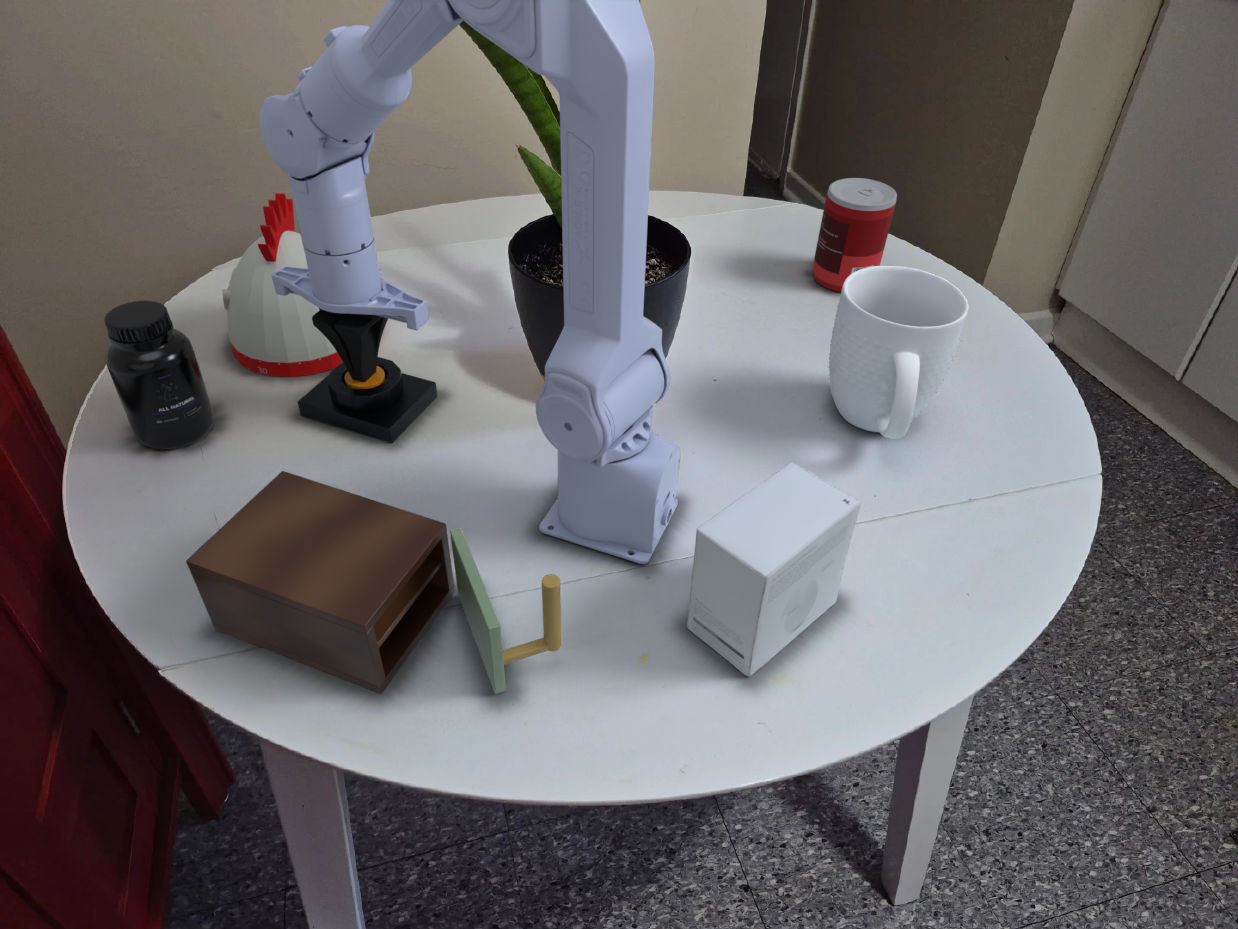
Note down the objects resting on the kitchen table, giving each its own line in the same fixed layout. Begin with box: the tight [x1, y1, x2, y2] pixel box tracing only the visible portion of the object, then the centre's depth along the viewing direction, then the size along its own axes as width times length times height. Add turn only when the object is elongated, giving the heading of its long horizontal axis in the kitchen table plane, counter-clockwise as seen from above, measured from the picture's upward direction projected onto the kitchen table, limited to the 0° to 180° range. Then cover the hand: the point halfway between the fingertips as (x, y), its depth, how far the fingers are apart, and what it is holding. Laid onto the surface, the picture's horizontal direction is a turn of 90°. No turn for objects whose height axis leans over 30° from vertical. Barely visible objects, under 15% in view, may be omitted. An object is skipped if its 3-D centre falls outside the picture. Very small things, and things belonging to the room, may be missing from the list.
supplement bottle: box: [103, 299, 215, 450], centre depth 76 cm, size 7×7×12 cm
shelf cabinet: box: [185, 470, 456, 695], centre depth 62 cm, size 14×10×7 cm
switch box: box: [296, 356, 438, 444], centre depth 82 cm, size 10×8×4 cm
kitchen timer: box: [221, 192, 343, 378], centre depth 86 cm, size 14×14×15 cm
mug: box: [828, 265, 970, 440], centre depth 79 cm, size 15×11×13 cm
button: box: [345, 366, 386, 389], centre depth 81 cm, size 4×4×2 cm
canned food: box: [812, 177, 898, 293], centre depth 102 cm, size 8×8×11 cm
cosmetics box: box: [686, 461, 862, 678], centre depth 62 cm, size 10×6×10 cm, turn 133°
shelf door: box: [449, 527, 562, 695], centre depth 60 cm, size 5×9×8 cm, turn 23°
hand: (364, 375), depth 81 cm, fingers closed, pressing on button
